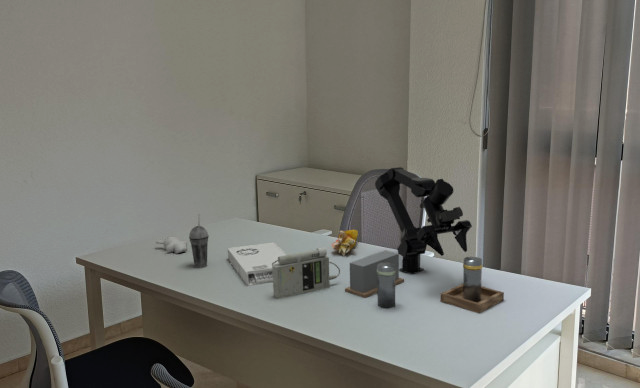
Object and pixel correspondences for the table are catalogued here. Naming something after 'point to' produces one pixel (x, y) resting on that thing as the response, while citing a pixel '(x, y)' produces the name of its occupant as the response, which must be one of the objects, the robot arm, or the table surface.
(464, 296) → the cylinder
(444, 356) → the table surface
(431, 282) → the table surface
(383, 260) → the block
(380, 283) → the cylinder
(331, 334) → the table surface
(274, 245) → the power supply unit
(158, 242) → the bunny figurine
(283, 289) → the geiger counter
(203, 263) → the beverage cup
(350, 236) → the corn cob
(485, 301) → the tray
